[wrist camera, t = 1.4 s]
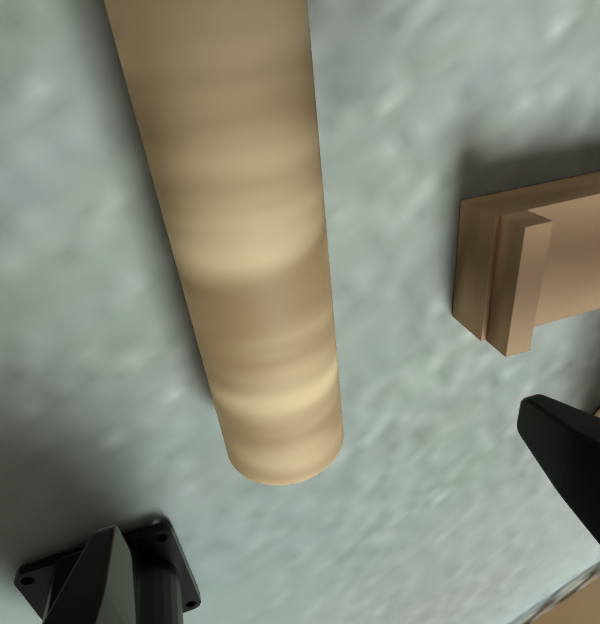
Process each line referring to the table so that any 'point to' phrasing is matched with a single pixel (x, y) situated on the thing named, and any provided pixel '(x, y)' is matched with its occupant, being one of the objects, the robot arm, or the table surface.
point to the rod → (243, 215)
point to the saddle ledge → (527, 259)
